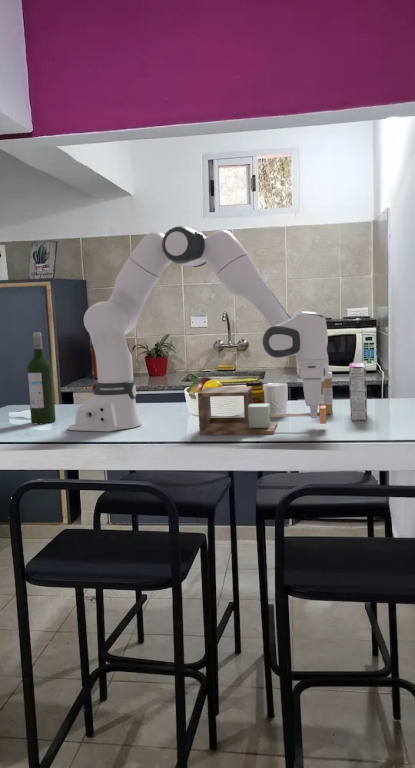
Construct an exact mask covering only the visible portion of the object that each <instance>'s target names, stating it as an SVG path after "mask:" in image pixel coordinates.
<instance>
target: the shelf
mask: <svg viewBox="0 0 415 768" xmlns="http://www.w3.org/2000/svg"><path fill="white" fill-rule="evenodd" d="M248 394H249V404H253V399H252V386H248V387H246V386H219V387H218V386H214V387H212V386H210V387H204V388H203V389H202V390H200V391H199V392H197V404H198V406H197V407H198V409H197V410H198V425H199V435H200V436H220V435H221V436H227V435H229V436H230V435H233V436H234V435H235V436H236V435H237V436H238V435H241V436H242V435H243V436H245V435H275V431H276V430H277V428H278V422H270V426H269V428H249V417H248ZM242 396H243V410H244V411H243V413H244V414H243V416H214V417H213V416H212V408H211V397H242Z"/></svg>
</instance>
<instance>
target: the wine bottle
mask: <svg viewBox="0 0 415 768" xmlns="http://www.w3.org/2000/svg"><path fill="white" fill-rule="evenodd" d="M32 341H33V343H32V344H33V357H32V358H31V359H30V361H29V362H28V364H27V367H26V369H27V370H26V371H27V382H28V395H29V407H30V408H29V410H30V421H31V424H32V423H38V424H37V425H45V424H44V423H48V424H53V423H55V422H56V411H55V410H56V408H55V406H56V405H55V393H54V381H53V367H52V364H51V362H50V361H49V360H48V359H47V358H45V356H44V350H43V341H42V333H41V331H38V332H37V331H35V332H33V333H32ZM52 422H53V423H52ZM40 423H42V424H40Z"/></svg>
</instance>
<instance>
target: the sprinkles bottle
mask: <svg viewBox="0 0 415 768" xmlns="http://www.w3.org/2000/svg"><path fill="white" fill-rule="evenodd" d="M333 398H334V397H333V372H332V371H329V374H328V375H326V376H325V377H324V381H322V384H321V396H320V403H319V406H318V413H320V406H325V405H326V415H332V414H333V413H334V411H333V410H334V409H333V401H334V400H333Z"/></svg>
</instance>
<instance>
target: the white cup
mask: <svg viewBox="0 0 415 768" xmlns="http://www.w3.org/2000/svg"><path fill="white" fill-rule="evenodd" d="M263 390H264V398H265V404H267V403H270V414H277V413H287V407H288V383H285V382H272V383H271V382H269V383H264V384H263Z"/></svg>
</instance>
